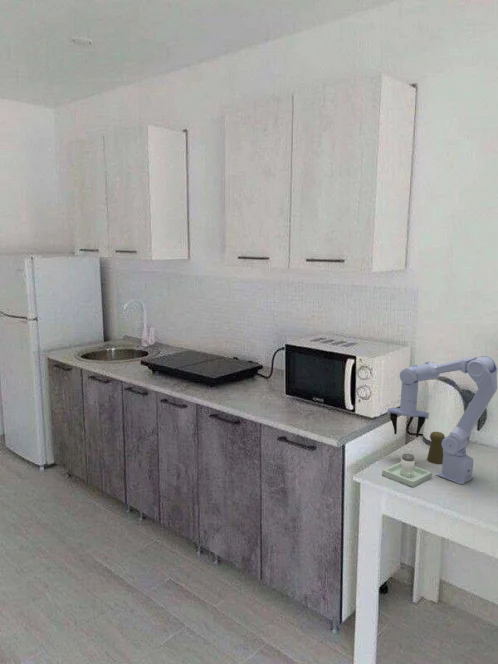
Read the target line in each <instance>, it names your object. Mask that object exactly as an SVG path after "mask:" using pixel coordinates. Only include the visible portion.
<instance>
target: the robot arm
mask: <svg viewBox="0 0 498 664" xmlns="http://www.w3.org/2000/svg"><path fill="white" fill-rule="evenodd" d="M457 371H460V372H462V373H463V374H468V376H469V377H470V378H471V379H472V380H473V381H474V383H475V385H476V386H477V390H476V391H475V394H474V395H473V397H472V399H471V400H470V403H469V404H468V406H467V408H466V409H465V411H464V412H463V414H462V415H461V417H460V419H459V421H458V423H456V425H455V426H454V428H453V429H452V430H451V432H450V433H449V434H448V435H447V436H445V438H444V439H443V440H442V448H443V463H442V464H441V465H442V466H441V471H439V472H438V473H436V475H437V476H438V477H440V478H443V479H446V480H449V481H451V482H454V483H457V484H460V485H464V484H465V483H467V482H469V481H471V480H473V478H474V477H473V469H474V459H473V458H472V457H471V456H469V455H468V454H467V450H466V448H467V447H468V446H469V445H470V437H471V435H472V431H473V429H474V428H475V426H476V425H477V423H478V421H479V419H480V418H481V416H482V415H483V413H484V412H485V410H486V408H487V407H488V405H489V403H490V402H491V400H492V398H493V397H494V395H495V394H496V392H497V390H498V380H497V379H498V377H497V375H498V366H497V364H496V362H495V361H494V359H493V358H492V357H490V356H489V355H482V356H480V357H478V356H473V357H472V356H471V357H465V358H459V359H455V360H453V361H447V362H444V363H440V364H437V363H435V362H431V361H429V360H428V361H425V362H424V363H423V364H419V365H418V364H413V365H412V366H408V367H406V368H403V369H402V370H401V371H400V373H399V378H400V381H401V391H400V404H399V405H400V407H399V408H398V407H397V408H396V407H388V408H387V411H386V414H387V415H389V418H390V421H391V423H392V426H393V432H394V434H393V435H397V432H398V416H404V417H411V418H412V417H413V418H417V425H416V426H417V427H416V433H415V436H416V437H415V438H418V437H419V434H420V431H421V430H422V427H423V425H424V424H425V421H426V420H429V417H430V415H429V414H430V413H429V412H426V411H422V410H417V405H418V392H419V391H418V390H419V382H422V381H430V380H434V379H437V378H439V376H440V374H445V373H451V372H457Z"/></svg>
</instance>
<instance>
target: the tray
mask: <svg viewBox="0 0 498 664" xmlns="http://www.w3.org/2000/svg"><path fill="white" fill-rule="evenodd" d="M381 473H382V474H381V476H383V477H385V478H388V479H389V480H392V481H396V482H397V483H399V484H402V485H405V486H407V487H410V488H415V487H417V486H419V485H421V484H423V483H424V482H426V481H428V480H430V479H432V476H433V472H432V471H429V470H427V469H424V468H421V467H418V466H415V465H414V476H413V477H412V478H406V477H403V476H401V475H400V473H401V461H398V462H397V463H395V464H392V465H390V466H388V467H387V468H384V469H382V472H381Z"/></svg>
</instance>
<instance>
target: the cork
mask: <svg viewBox="0 0 498 664" xmlns="http://www.w3.org/2000/svg"><path fill="white" fill-rule="evenodd" d="M445 437H446V436H445V434H444V433H443V432H440V431H432V432H431V433H430V435H429V438H430V439H429V440H430V445H429V448H428V453H427V459H426V460H428V461H427V462H428V463H431V464H435V465H440V464H441V465H443V453H444V450H443V448H442V440H443V439H444V438H445Z"/></svg>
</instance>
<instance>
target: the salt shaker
mask: <svg viewBox="0 0 498 664" xmlns="http://www.w3.org/2000/svg"><path fill="white" fill-rule="evenodd" d="M400 462H401V473H400V475H401V476H403V477H406V478H412V477H413V476H414V466H415V463H416V462H415V455H413V454H411V453H403V454H402V456H401V459H400Z"/></svg>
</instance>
